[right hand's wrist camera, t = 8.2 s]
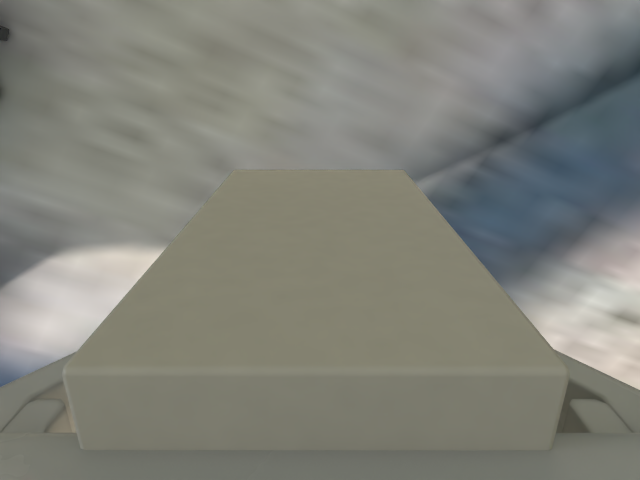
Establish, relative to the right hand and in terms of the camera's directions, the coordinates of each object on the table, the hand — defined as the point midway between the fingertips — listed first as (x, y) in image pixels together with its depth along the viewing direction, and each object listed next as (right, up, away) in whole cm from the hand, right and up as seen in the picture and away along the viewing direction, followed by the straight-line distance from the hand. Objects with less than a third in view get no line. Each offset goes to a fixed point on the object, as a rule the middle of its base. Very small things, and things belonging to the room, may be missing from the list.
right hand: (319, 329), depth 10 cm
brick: (0, +2, +4) cm, 4 cm away
